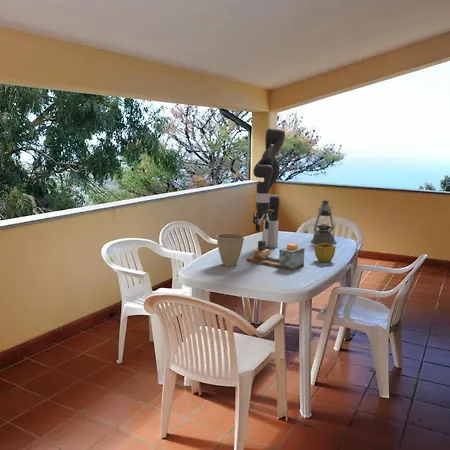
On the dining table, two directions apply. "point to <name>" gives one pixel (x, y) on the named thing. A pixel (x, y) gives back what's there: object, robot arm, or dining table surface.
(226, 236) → the plant pot
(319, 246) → the flower pot
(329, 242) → the lantern
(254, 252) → the carriage
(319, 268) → the dining table surface
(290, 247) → the button
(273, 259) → the rail rig
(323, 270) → the dining table surface
